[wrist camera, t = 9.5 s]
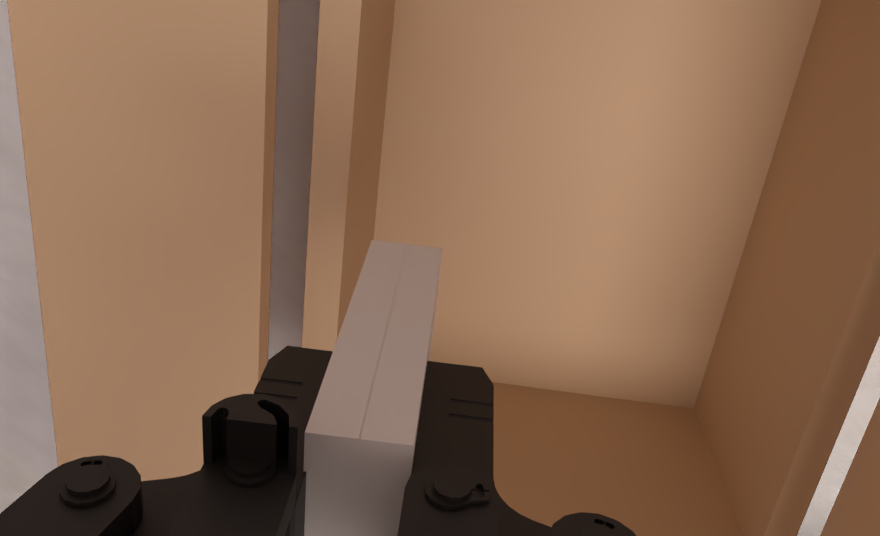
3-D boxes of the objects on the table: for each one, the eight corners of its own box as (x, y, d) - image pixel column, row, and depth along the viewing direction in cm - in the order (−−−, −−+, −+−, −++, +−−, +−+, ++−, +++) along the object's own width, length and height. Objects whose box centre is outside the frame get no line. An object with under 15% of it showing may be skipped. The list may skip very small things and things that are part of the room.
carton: (333, 386, 35) (283, 545, 26) (380, -245, 25) (324, -315, 16) (703, 435, 35) (771, 610, 26) (901, -176, 25) (1115, -209, 16)
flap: (263, 504, 26) (74, 466, 26) (286, -238, 17) (0, -273, 18) (254, 522, 25) (60, 482, 26) (274, -244, 16) (-24, -280, 17)
